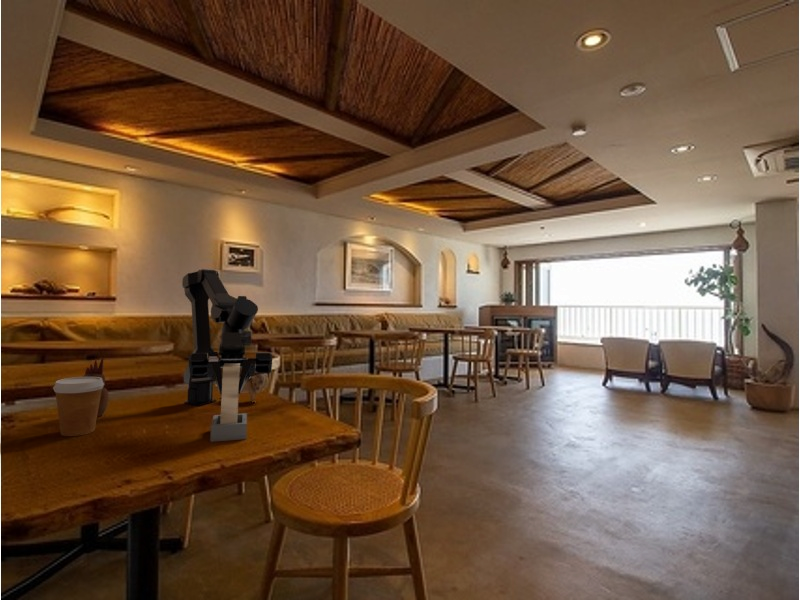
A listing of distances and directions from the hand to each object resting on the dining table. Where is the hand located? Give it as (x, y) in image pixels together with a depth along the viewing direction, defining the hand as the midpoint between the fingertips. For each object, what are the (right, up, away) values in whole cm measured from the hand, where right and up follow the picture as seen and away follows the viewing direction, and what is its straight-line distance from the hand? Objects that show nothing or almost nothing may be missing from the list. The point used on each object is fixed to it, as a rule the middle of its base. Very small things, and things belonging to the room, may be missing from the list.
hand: (230, 393), depth 99 cm
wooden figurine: (-41, -9, +12) cm, 44 cm away
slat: (-1, -8, +1) cm, 8 cm away
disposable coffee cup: (-35, -9, 0) cm, 36 cm away
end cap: (-1, -10, +1) cm, 10 cm away
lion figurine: (-8, -10, +33) cm, 36 cm away
